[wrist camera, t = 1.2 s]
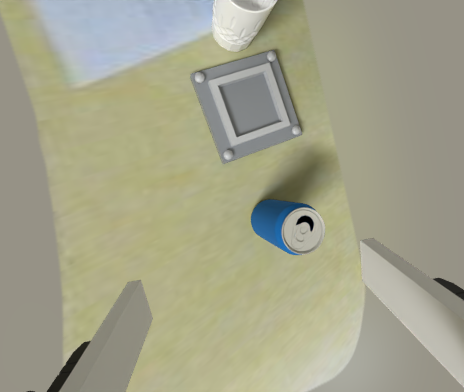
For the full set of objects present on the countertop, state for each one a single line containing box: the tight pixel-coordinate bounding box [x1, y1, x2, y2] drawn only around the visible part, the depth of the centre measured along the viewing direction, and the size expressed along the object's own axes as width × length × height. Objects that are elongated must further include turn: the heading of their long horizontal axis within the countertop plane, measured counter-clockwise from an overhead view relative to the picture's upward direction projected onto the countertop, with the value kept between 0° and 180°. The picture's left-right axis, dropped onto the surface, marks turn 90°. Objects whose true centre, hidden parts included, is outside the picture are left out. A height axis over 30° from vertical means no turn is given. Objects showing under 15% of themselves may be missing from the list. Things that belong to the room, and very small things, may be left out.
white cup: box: [211, 0, 277, 52], centre depth 34 cm, size 8×8×10 cm
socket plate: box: [190, 50, 302, 164], centre depth 39 cm, size 14×14×2 cm
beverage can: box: [251, 199, 325, 255], centre depth 35 cm, size 6×6×12 cm
